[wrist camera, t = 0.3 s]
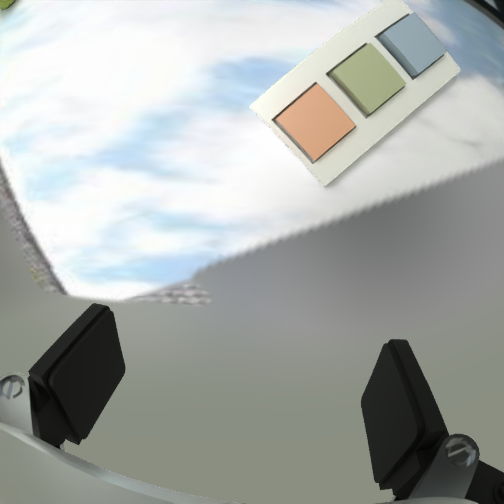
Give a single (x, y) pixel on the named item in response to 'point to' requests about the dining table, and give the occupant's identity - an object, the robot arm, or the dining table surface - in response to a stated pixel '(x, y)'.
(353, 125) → the terracotta key
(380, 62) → the olive key
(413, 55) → the slate blue key
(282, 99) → the keypad
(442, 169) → the dining table surface
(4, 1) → the plant pot
